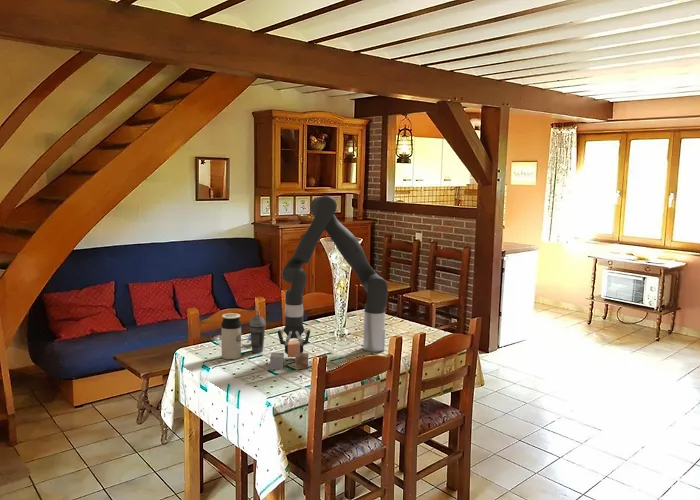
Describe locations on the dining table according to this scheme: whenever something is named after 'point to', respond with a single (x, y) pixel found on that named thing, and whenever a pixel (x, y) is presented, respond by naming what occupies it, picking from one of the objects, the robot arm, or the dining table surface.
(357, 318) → the dining table surface
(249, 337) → the geometric puzzle
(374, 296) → the robot arm
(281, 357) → the slate block
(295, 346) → the terracotta block
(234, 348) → the travel mug
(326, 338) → the dining table surface
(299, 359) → the walnut block
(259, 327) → the beverage cup
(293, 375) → the dining table surface
